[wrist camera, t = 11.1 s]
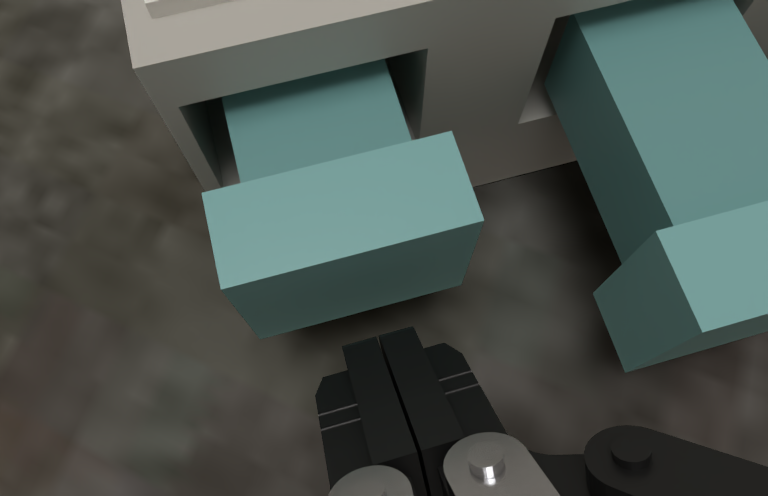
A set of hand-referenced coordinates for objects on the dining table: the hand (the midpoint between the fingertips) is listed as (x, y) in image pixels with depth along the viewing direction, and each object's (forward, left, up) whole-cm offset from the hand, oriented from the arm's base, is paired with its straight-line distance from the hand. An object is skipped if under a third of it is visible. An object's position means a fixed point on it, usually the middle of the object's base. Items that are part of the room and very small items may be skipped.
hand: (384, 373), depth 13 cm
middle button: (+8, +3, -2) cm, 9 cm away
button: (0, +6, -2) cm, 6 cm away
